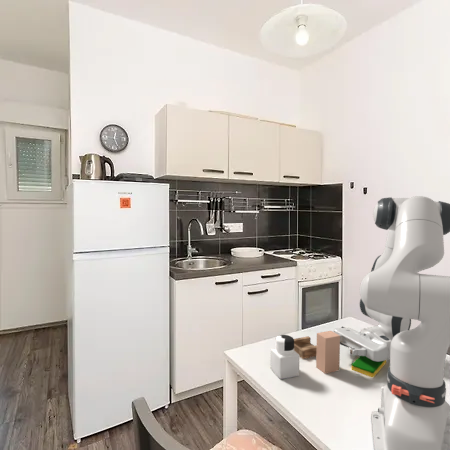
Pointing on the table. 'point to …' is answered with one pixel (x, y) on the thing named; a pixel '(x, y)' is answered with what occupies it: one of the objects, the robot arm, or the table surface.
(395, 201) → the robot arm
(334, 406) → the table surface
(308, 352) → the tray
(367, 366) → the dish sponge
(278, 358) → the medicine bottle
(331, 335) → the clay block
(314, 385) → the table surface
